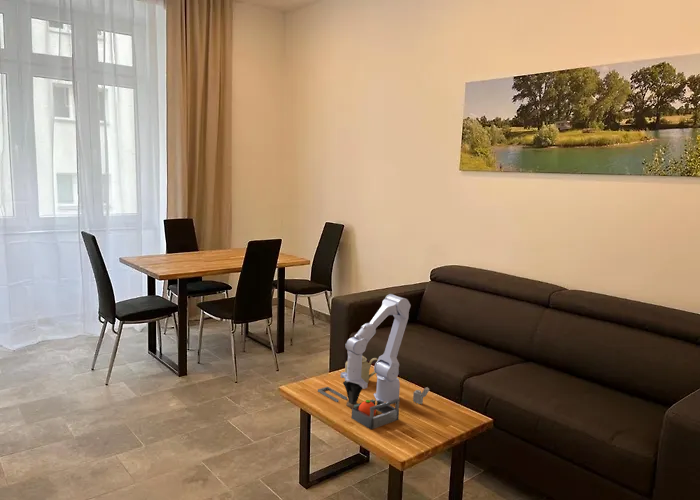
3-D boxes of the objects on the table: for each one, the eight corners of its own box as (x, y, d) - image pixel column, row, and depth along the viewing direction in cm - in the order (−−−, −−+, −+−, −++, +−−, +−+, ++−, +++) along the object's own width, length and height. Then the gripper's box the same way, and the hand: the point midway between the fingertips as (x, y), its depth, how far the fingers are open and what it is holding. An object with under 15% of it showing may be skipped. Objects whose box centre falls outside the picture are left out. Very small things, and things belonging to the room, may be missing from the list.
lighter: (412, 401, 228) (413, 383, 227) (415, 400, 229) (416, 382, 228) (425, 407, 223) (427, 388, 222) (428, 406, 224) (429, 387, 223)
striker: (339, 407, 218) (340, 392, 217) (358, 401, 225) (359, 386, 224) (355, 416, 211) (356, 400, 210) (374, 410, 217) (375, 394, 216)
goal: (351, 418, 209) (352, 397, 208) (378, 409, 219) (380, 389, 218) (370, 429, 201) (372, 408, 200) (398, 419, 210) (400, 399, 209)
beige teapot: (365, 373, 257) (367, 343, 255) (380, 381, 248) (382, 350, 246) (339, 379, 248) (341, 348, 246) (354, 388, 239) (356, 355, 237)
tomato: (357, 413, 214) (358, 395, 213) (375, 413, 214) (376, 396, 213) (358, 422, 206) (359, 404, 205) (376, 423, 207) (377, 405, 206)
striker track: (317, 391, 233) (317, 389, 233) (327, 388, 237) (327, 386, 237) (337, 402, 223) (337, 400, 223) (347, 399, 227) (347, 397, 227)
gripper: (335, 363, 221) (333, 395, 223) (358, 375, 210) (356, 408, 212) (348, 360, 225) (347, 391, 227) (372, 371, 214) (370, 404, 216)
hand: (352, 399), depth 220 cm, fingers closed on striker, 2 cm apart
